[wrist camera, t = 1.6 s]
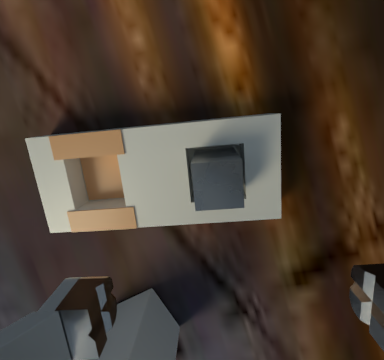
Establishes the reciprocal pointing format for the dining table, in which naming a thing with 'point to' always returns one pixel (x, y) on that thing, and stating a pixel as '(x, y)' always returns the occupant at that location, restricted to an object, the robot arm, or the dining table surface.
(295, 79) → the dining table surface
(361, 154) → the dining table surface
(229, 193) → the dark gray block
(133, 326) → the milk carton
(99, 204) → the socket rail
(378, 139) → the dining table surface
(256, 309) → the dining table surface
